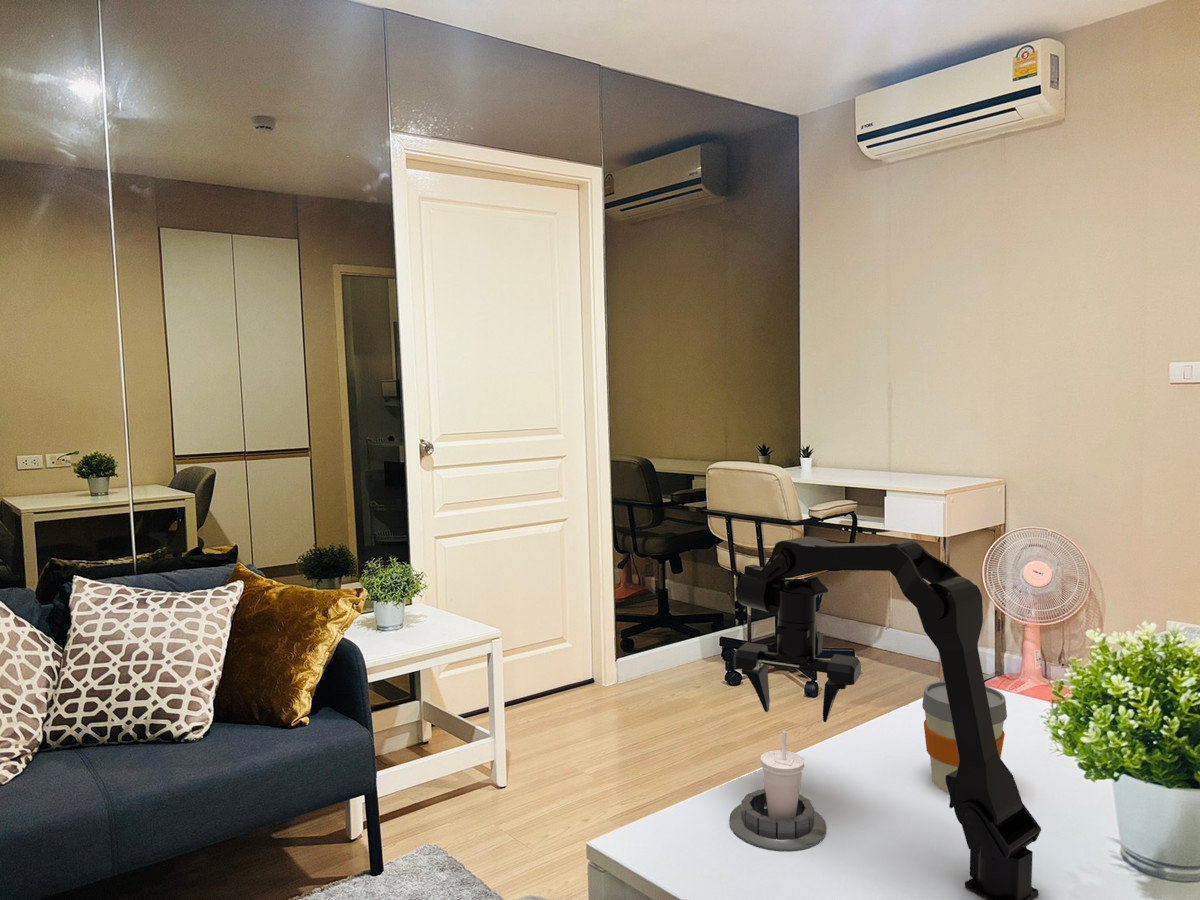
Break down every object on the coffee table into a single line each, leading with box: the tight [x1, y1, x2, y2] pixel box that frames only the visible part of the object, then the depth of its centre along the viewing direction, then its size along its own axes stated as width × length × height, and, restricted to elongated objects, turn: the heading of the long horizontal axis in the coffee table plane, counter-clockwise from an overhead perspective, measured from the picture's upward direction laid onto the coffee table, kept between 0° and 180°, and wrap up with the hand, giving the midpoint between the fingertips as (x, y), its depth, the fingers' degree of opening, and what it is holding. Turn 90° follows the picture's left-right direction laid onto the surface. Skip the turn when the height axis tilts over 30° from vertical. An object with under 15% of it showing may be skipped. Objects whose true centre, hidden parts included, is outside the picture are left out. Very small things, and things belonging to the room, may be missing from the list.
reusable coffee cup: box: [922, 680, 1008, 794], centre depth 141 cm, size 12×13×15 cm
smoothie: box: [760, 730, 806, 819], centre depth 128 cm, size 6×6×14 cm
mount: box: [729, 788, 827, 852], centre depth 129 cm, size 14×14×3 cm
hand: (795, 716), depth 137 cm, fingers open, 9 cm apart
